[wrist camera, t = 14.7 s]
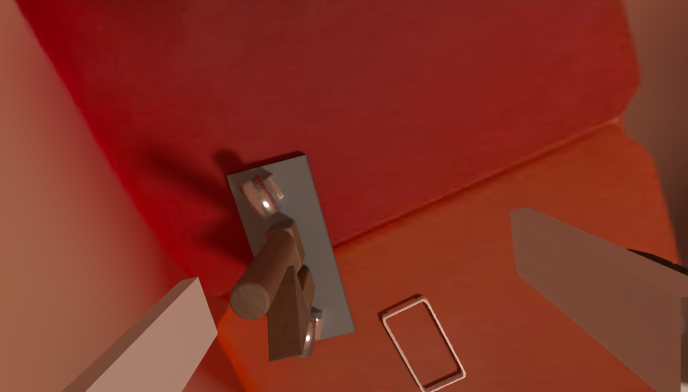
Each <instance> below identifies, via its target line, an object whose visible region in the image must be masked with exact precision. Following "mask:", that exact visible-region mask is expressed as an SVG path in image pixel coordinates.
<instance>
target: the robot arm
mask: <svg viewBox="0 0 688 392" xmlns="http://www.w3.org/2000/svg"><path fill="white" fill-rule="evenodd" d="M509 215H510V224H511V232H512V241H513V249H514V257H515V266H516V273H517V274H518V275H519V276H521V277H522V278H523V279H524V280H525V281H526V282H528V283H529V284H530V285H531V286H532V287H534V288H535V289H536V290H537V291H538V292H539V293H541V294H542V295H543V296H544V297H545V298H547V299H548V300H549V301H550V302H551V303H552V304H554V305H555V306H556V307H557V308H558V309H560V310H561V311H562V312H563V313H564V314H565V315H567V316H568V317H569V318H570V319H571V320H573V321H574V322H575V323H576V324H577V325H579V326H580V327H581V328H582V329H583V330H584V331H586V332H587V333H588V334H589V335H590V336H592V337H593V338H594V339H595V340H596V341H597V342H599V343H600V344H601V345H602V346H603V347H605V348H606V349H607V350H608V351H609V352H610V353H612V354H613V355H614V356H615V357H616V358H618V359H619V360H620V361H621V362H622V363H624V364H625V365H626V366H627V367H628V368H629V369H631V370H632V371H633V372H634V373H635V374H637V375H638V376H639V377H640V378H641V379H642V380H644V381H645V382H646V383H647V384H648V385H650V386H651V387H652V388H653V389H654V390H655V391H657V392H688V269H687V268H685V267H682V266H680V265H678V264H673V263H672V262H670V261H668V260H665V259H663V258H660V257H658V256H656V255H653V254H649V253H645V252H640V251H636V250H632V249H624V248H622V247H620V246H617V245H615V244H613V243H610V242H608V241H606V240H603V239H601V238H599V237H596V236H594V235H592V234H589V233H587V232H585V231H583V230H580V229H578V228H576V227H573V226H571V225H569V224H566V223H564V222H562V221H559V220H557V219H555V218H552V217H550V216H548V215H545V214H543V213H541V212H538V211H536V210H534V209H531V208H529V207H526V208H521V209H516V210H512V211H509ZM217 334H218V333H217V330H216V327H215V324H214V321H213V319H212V316H211V313H210V310H209V307H208V304H207V301H206V299H205V296H204V293H203V290H202V287H201V284H200V281H199V278H198V277H196V278H191V279H187V280H182V281H180V282H179V283H178V284H177V285H176V286H175V287H173V288H172V289H171V290H170V291H169V292H168V293H167V294H166V295H165V296H164V297H163V298H162V299H161V300H160V301H158V302H157V303H156V304H155V305H154V306H153V307H152V308H151V309H150V310H149V311H148V312H147V313H146V314H145V315H144V316H142V317H141V318H140V319H139V320H138V321H137V322H136V323H135V324H134V325H133V326H132V327H131V328H130V329H128V330H127V331H126V332H125V333H124V334H123V335H122V336H121V337H120V338H119V339H118V340H117V341H116V342H115V343H113V344H112V345H111V346H110V347H109V348H108V349H107V350H106V351H105V352H104V353H103V354H102V355H101V356H99V358H97V360H95V361H94V362H93V363H92V364H91V365H90V366H89V367H88V368H87V369H86V370H84V371H83V373H81V374H80V375H79V376H78V377H77V378H76V379H75V380H74V381H73V382H72V383H71V384H69V385H68V386H67V387H66V388H65V389H64V390H63V391H62V392H182V390H183V389H184V387H185V386H186V384H187V382H188V381H189V379H190V378H191V376H192V374H193V373H194V371H195V369H196V368H197V366H198V364H199V363H200V361H201V360H202V358H203V356H204V355H205V353H206V352H207V350H208V348H209V347H210V345H211V344H212V342H213V340H214V339H215V337H216V335H217Z"/></svg>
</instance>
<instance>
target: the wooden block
mask: <svg viewBox="0 0 688 392" xmlns="http://www.w3.org/2000/svg"><path fill="white" fill-rule="evenodd" d="M265 236H266V239H267V242H266V243H265V245H264V246H263V247H262V249H261V250H260V252H259V253H258V254H257V256H256V257H255V258H254V260H253V261H252V262H251V264H250V265H249V267H248V268H247V269H246V271H245V272H244V273H243V275H242V276H241V277H240V279H239V280H238V282H237V283H236V284H235V286H234V287H233V289H232V290H231V292H230V297H229V301H230V306H231V308H232V310H233V312H234V313H235V314H236V315H238V316H239V317H241V318H243V319H248V320H251V319H257V318H259V317H262V316H263V315H264V314H266V313H267V316H268V342H269V362H274V361H279V360H283V359H287V358H292V357H296V356H301V355H302V354H303V350H304V345H305V340H306V334H307V329H308V324H309V319H310V313H311V307H312V302H313V297H314V292H315V285H314V282H313V279H312V275H311V272H310V269H309V268H304V269H300V268H301V266H302V264H303V261H304V258H305V252H304V249H303V245H302V242H301V239H300V235H299V232H298V229H297V225H296V222H295V221H294V220H292V221H288V222H284V223H280V224H277V225H273V226H271V227H270V228H269V229H268V231H267V232H266V233H265Z"/></svg>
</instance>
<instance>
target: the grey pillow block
mask: <svg viewBox="0 0 688 392" xmlns="http://www.w3.org/2000/svg"><path fill="white" fill-rule="evenodd" d="M238 189H239V191H240V192H241V193H242V195H243V196H244V198H245V199H246V200H247V201H248V203H249V204H250V205H251V207H252V208H253V209H254V211H255V212H256V213H257V215H258V216H259V217H260V218H261V219H262V221H265V220H266V219H268V218H269V217H271V216H272V215H274V214H275V213H276V212H278V211H279V210H280V209H281V208H282V206H281V204H280V203H279V202H278V201H279V200H280V199H282V198H283V197H284V196H285V195H286V194H287V192H286V191H285V190H284V188H283V187H282V186H281V184H280V183H279V182H278V180H277V179H276V177H275V176H274V175H271V176H269V177H268V178H267V179H265V180H264V181H263V180H262V179H261V178H260V176H259V175H257V176H255V177H254V178H252V179H251V180H249V181H248V182H246V183H245V184H244V185H242V186H241V187H240V188H238Z"/></svg>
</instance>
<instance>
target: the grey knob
mask: <svg viewBox="0 0 688 392" xmlns="http://www.w3.org/2000/svg"><path fill="white" fill-rule="evenodd" d="M322 314H323V311H313V310H311V313H310V319H309V324H308V329H307V334H306V340H305V345H304V350H303V354H302V355H301V356H296V357H298V358H308V357H310V356H311V355H312V354H313V352H314V340H315V339H320V335H321V325H322Z"/></svg>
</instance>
